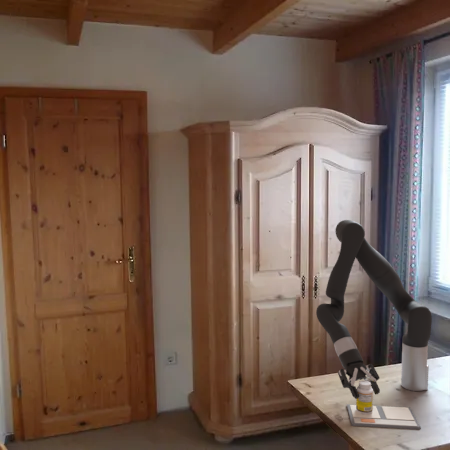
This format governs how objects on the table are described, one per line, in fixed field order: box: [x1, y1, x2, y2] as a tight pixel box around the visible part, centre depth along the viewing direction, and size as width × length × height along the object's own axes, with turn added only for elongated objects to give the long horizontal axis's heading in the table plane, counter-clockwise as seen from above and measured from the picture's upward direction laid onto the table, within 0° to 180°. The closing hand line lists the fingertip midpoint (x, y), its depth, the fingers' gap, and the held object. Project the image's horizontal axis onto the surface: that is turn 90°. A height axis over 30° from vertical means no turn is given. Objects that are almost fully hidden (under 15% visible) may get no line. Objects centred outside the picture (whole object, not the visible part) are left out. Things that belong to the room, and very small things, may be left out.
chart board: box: [346, 403, 422, 430], centre depth 172 cm, size 22×14×1 cm, turn 83°
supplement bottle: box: [355, 380, 374, 414], centre depth 174 cm, size 6×6×10 cm
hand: (367, 395), depth 173 cm, fingers open, 8 cm apart
